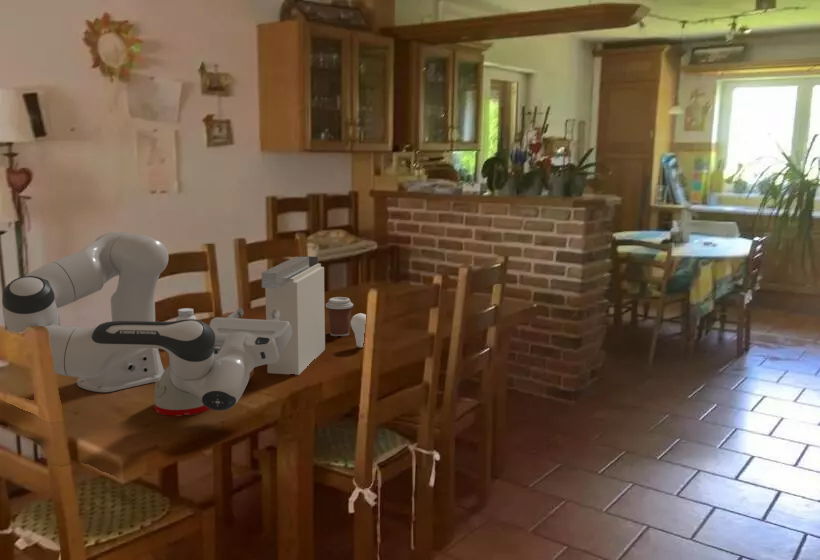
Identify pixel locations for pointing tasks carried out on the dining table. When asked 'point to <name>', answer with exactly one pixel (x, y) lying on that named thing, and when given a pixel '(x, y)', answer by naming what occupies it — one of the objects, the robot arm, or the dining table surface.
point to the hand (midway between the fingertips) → (258, 310)
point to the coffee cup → (339, 315)
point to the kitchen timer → (175, 399)
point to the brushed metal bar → (284, 272)
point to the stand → (300, 318)
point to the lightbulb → (359, 328)
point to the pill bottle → (185, 314)
